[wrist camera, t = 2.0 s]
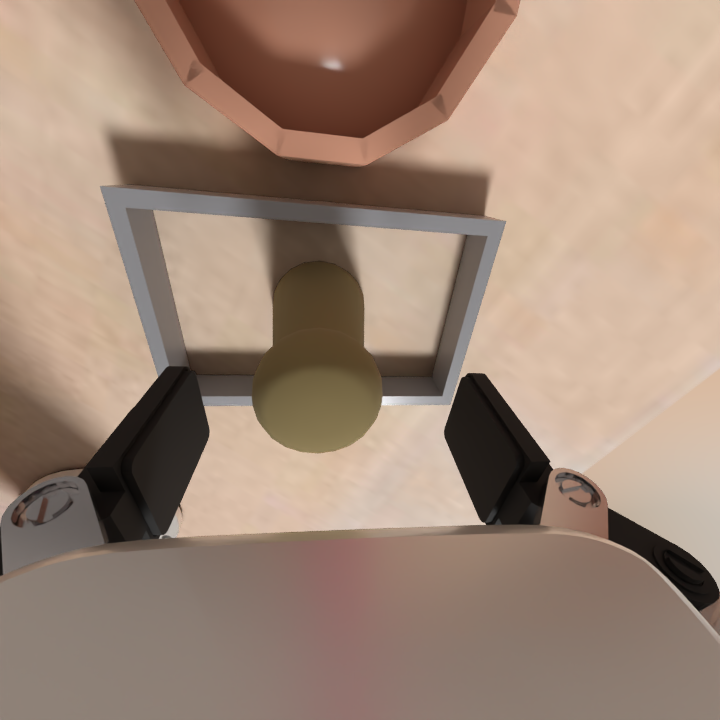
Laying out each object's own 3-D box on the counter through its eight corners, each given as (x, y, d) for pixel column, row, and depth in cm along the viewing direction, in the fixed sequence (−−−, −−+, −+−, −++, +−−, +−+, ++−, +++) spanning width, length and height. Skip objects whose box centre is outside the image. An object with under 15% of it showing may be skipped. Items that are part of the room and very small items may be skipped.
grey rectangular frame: (439, 385, 25) (450, 404, 23) (181, 383, 22) (167, 406, 20) (484, 215, 18) (506, 221, 16) (130, 184, 16) (99, 186, 14)
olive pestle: (254, 314, 20) (197, 437, 11) (308, 239, 18) (296, 310, 9) (328, 361, 22) (333, 493, 13) (382, 300, 20) (435, 405, 11)
